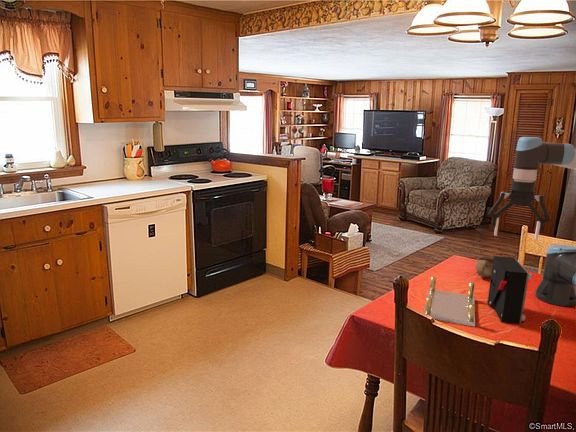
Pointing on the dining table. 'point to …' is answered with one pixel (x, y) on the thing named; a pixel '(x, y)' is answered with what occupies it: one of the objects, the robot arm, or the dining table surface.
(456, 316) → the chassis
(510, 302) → the electrical component
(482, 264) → the bowl
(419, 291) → the dining table surface
